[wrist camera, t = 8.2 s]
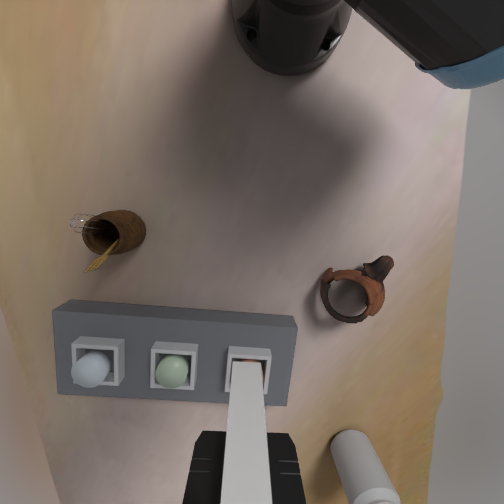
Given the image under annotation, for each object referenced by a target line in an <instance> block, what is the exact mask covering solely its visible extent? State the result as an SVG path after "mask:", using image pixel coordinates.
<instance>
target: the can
mask: <svg viewBox="0 0 504 504" xmlns="http://www.w3.org/2000/svg"><path fill="white" fill-rule="evenodd" d="M330 451H331V454H332V456H333V459H334V462H335V465H336V468H337V471H338V474H339V476H340V479H341V482H342V485H343V488H344V491H345V494H346V496H347V499H348V502H349V504H401V502H400V498H399V496H398V494H397V492H396V490H395V488H394V486H393V484H392V482H391V481H390V479H389V477H388V475H387V473H386V471H385V469H384V467H383V465H382V464H381V462H380V460H379V458H378V456H377V454H376V452H375V450H374V448H373V446H372V445H371V443H370V441H369V439H368V437H367V436H366V435H365V434H364V433H362V432H360V431H356V430H352V429H349V430H344V431H341V432H340V433H338V434H337V435H336V436H335V438H334V439H333V441H332V443H331V447H330Z"/></svg>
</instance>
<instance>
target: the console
mask: <svg viewBox="0 0 504 504" xmlns="http://www.w3.org/2000/svg"><path fill="white" fill-rule="evenodd" d="M52 316H53V331H54V345H55V360H56V375H57V389H58V394H66V395H85V396H103V397H122V398H141V399H159V400H178V401H197V402H215V403H229V399H230V387H231V375H232V364H233V361H236V362H237V361H239V360H240V359H242V358H243V359H256V360H258V361H259V362H260V363H261V366H262V371H263V395H264V405H271V406H287V399H288V392H289V385H290V378H291V371H292V364H293V357H294V350H295V344H296V337H297V330H298V327H297V325H296V323H295V320H294V318H293V316H286V315H273V314H259V313H246V312H232V311H218V310H205V309H191V308H178V307H164V306H151V305H137V304H123V303H110V302H96V301H83V300H69V301H68V302H66V303H64V304H62V305H61V306H59V307H57V308H55V309H54V310H52ZM90 351H100V352H102V353H104V354H106V355H107V356H108V357H109V358H110V360H111V363H112V368H111V371H110V372H109V374H108V375H107V376H106V378H105V379H104V380H103V381H102V383H101V384H100V385H98V386H96V387H93V388H85V387H82V386H80V385H78V384H77V383H76V382H75V381H74V380H73V378H72V376H71V369H72V367H73V365H74V364H75V363H76V362H77V361H78V360H79V359H80V358H81V357H82V356H83V355H84V354H86V353H87V352H90ZM167 354H180V355H183V356H185V357H186V358H187V360H188V361H189V371H188V374H187V377H186V380H185V382H184V383H183V384H182V385H181V386H179V387H177V388H166V387H163V386H162V385H160V384H159V383H158V382H157V380H156V377H155V371H156V369H157V367H158V365H159V363H160V361H161V359H162V358H163V357H164V356H165V355H167Z"/></svg>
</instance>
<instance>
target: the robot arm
mask: <svg viewBox="0 0 504 504" xmlns="http://www.w3.org/2000/svg"><path fill="white" fill-rule="evenodd" d="M352 8H353V9H354V10H355V11H356V12H357V13H358V14H359V15H360V16H362V17H363V18H364V19H365V20H366V21H367V22H369V23H370V24H371V25H372V26H373V27H374V28H376V29H377V30H378V31H379V32H380V33H382V34H383V35H384V36H385V37H386V38H387V39H389V40H390V41H391V42H392V43H393V44H394V45H396V46H397V47H398V48H399V49H400V50H401V51H403V52H404V53H405V54H406V55H407V56H408V57H410V58H411V59H412V60H413V61H414V62H415V66H416V67H417V68H418V69H419V70H420V71H422V72H425V73H429V74H431V75H432V76H433V77H435V78H436V79H437V80H439V81H440V82H441V83H443V84H444V85H446V86H447V87H450V88H453V89H457V88H459V89H473V88H477V87H481V86H485V85H488V84H491V83H494V82H496V81H499V80H501V79H504V0H232V14H233V22H234V27H235V31H236V34H237V36H238V39H239V41H240V43H241V45H242V47H243V48H244V50H245V51H246V53H247V54H248V55H249V57H250V58H251V59H252V60H253V61H254V62H255V63H257V64H258V65H259V66H261V67H262V68H264V69H265V70H267V71H270V72H272V73H275V74H279V75H287V76H291V75H299V74H303V73H306V72H308V71H311V70H313V69H315V68H316V67H318V66H319V65H320V64H322V63H323V62H324V61H325V60H326V59H327V58H328V57H329V56H330V55H331V53H332V52H333V51H334V49H335V48H336V46H337V44H338V43H339V41H340V39H341V38H342V36H343V34H344V32H345V30H346V27H347V25H348V22H349V19H350V15H351V11H352ZM183 504H306V500H305V495H304V490H303V484H302V479H301V476H300V469H299V463H298V458H297V453H296V448H295V445H294V443H293V441H292V440H291V438H290V436H289V434H288V433H267V432H266V420H265V407H264V395H263V383H262V370H261V363H255V362H236V361H233V364H232V375H231V387H230V399H229V410H228V422H227V432H223V431H202V433H201V434H200V436H199V438H198V439H197V441H196V442H195V446H194V451H193V456H192V460H191V465H190V471H189V475H188V480H187V484H186V489H185V494H184V499H183Z"/></svg>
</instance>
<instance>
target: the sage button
mask: <svg viewBox="0 0 504 504" xmlns="http://www.w3.org/2000/svg"><path fill="white" fill-rule="evenodd" d="M188 371H189V361H188V360H187V358H186V357H185V356H183V355H180V354H167V355H165V356H164V357H163V358H162V359H161V361H160V363H159V365H158V367H157V369H156V371H155V377H156V380H157V382H158V383H159V384H160V385H162V386H163V387H166V388H177V387H179V386H181V385H182V384H183V383H184V382H185V380H186V377H187V374H188Z"/></svg>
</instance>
